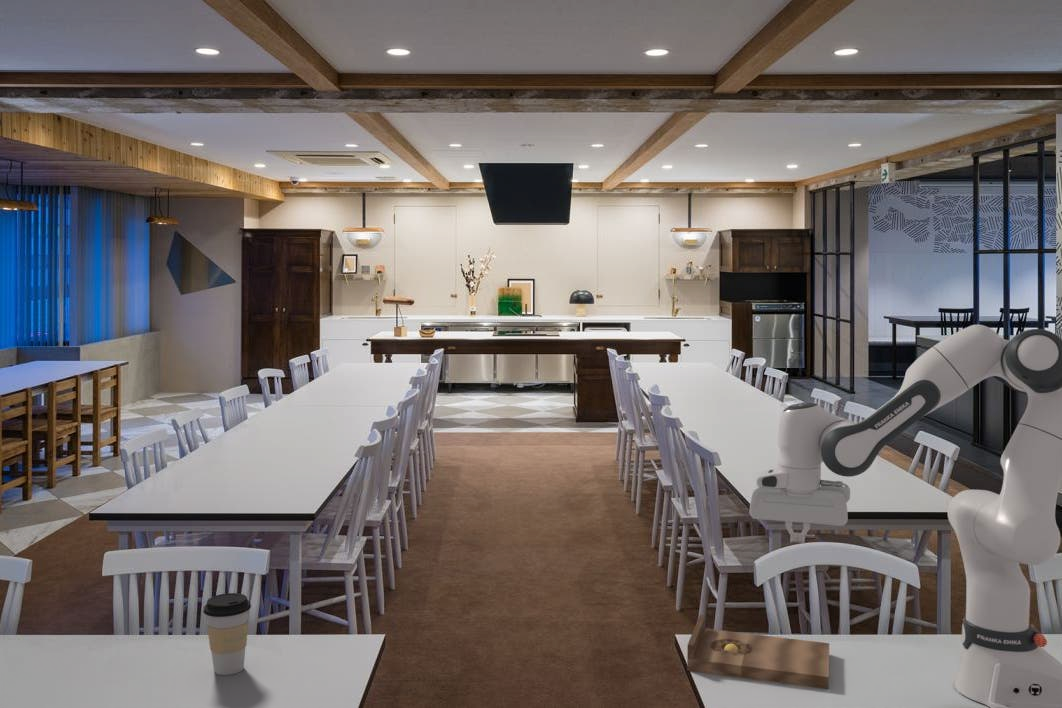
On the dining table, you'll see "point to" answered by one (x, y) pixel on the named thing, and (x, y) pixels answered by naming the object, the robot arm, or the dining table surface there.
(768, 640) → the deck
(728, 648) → the ball
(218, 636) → the coffee cup
